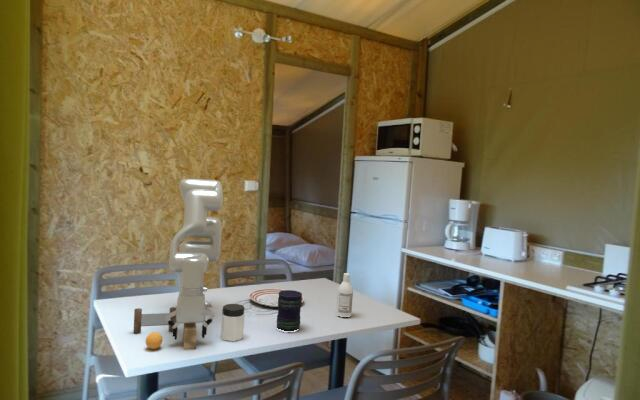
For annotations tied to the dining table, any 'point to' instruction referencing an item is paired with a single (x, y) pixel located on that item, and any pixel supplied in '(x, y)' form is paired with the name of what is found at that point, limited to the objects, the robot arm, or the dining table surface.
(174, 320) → the right post
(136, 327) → the left post
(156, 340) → the ball
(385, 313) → the dining table surface
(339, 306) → the bath foam
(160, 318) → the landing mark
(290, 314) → the storage jar
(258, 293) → the dinner plate
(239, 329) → the jar
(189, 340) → the block
